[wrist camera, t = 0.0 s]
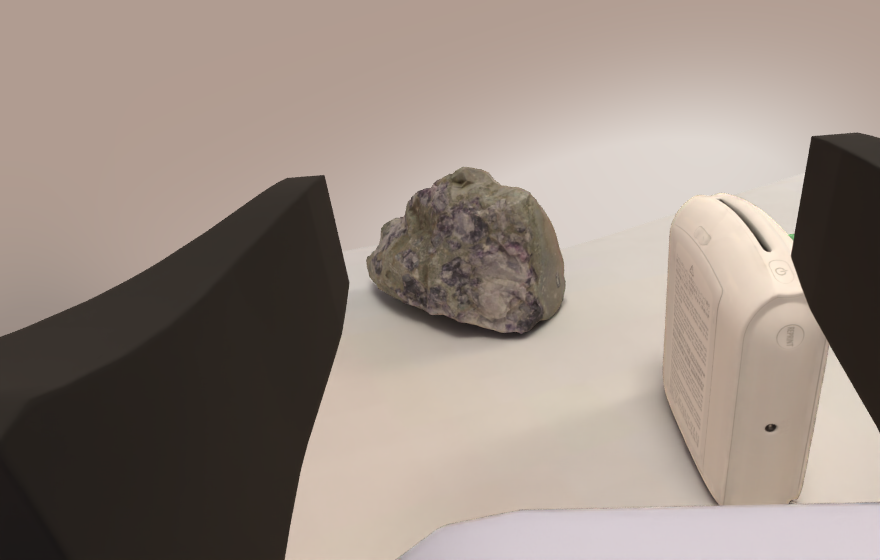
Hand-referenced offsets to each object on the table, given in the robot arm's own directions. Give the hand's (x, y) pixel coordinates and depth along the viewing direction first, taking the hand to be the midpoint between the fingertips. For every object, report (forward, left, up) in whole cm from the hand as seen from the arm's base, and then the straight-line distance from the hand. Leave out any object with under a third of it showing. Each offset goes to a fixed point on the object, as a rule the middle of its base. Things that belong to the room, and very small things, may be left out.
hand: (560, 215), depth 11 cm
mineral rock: (+33, +5, -22) cm, 40 cm away
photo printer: (+19, -8, -22) cm, 30 cm away
